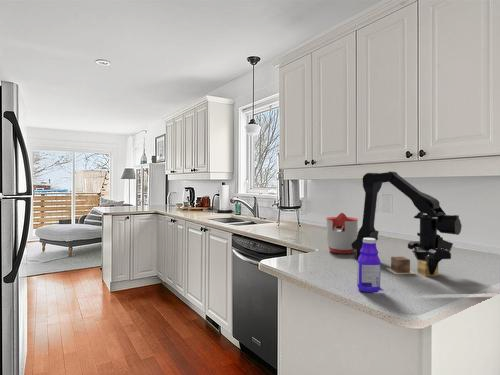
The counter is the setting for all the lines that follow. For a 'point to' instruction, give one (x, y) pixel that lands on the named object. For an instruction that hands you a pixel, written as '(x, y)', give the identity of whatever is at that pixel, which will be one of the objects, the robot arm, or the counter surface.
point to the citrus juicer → (341, 233)
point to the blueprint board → (399, 273)
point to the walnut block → (400, 264)
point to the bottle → (368, 267)
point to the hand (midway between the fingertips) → (427, 272)
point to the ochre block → (425, 268)
